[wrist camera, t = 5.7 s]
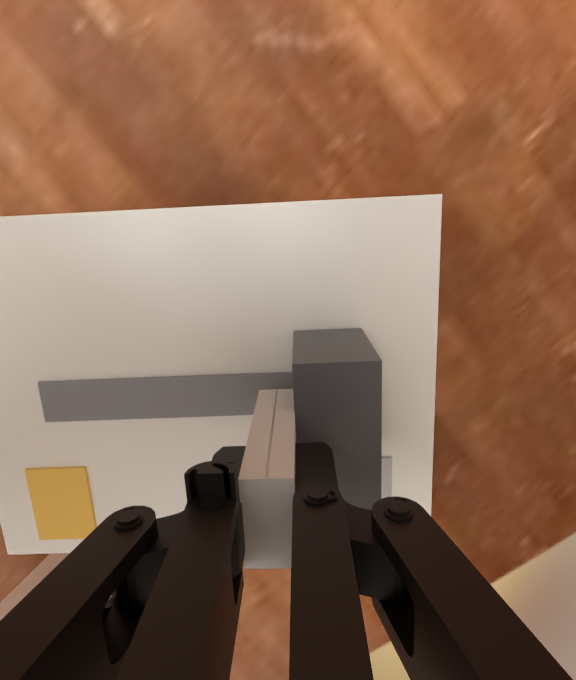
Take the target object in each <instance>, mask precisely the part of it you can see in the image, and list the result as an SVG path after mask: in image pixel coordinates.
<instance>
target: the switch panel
mask: <svg viewBox="0 0 576 680" xmlns="http://www.w3.org/2000/svg"><path fill="white" fill-rule="evenodd" d="M441 215H442V194H433V195H413V196H394V197H374V198H355V199H335V200H316V201H296V202H277V203H257V204H238V205H218V206H199V207H179V208H160V209H140V210H121V211H101V212H82V213H62V214H43V215H23V216H4V217H0V523H1V528H2V532H3V536H4V540H5V545H6V549H7V553H8V555H11V554H51V553H71V552H72V551H73V550H74V549H75V548H76V547H77V546H78V545H79V544H80V543H81V542H82V541H83V540H84V539H85V538H86V537H87V536H88V535H89V534H90V533H91V532H92V531H93V530H94V529H95V528H96V527H97V526H98V525H99V524H101V523H102V522H103V521H104V520H105V519H106V518H107V517H108V516H110V515H111V514H112V513H114V512H116V511H118V510H120V509H122V508H125V507H130V506H146V507H150V508H152V509H153V510H154V511H155V514H156V519H157V518H162V517H166V516H170V515H174V514H177V513H180V512H182V511H184V509H185V506H186V504H187V496H186V487H185V479H184V474H185V472H186V471H187V470H188V469H189V468H191V467H193V466H194V465H196V464H199V463H202V462H207V461H212V458H213V455H214V454H215V453H216V452H217V451H218V450H219V449H221V448H222V447H225V446H246V444H247V439H248V435H249V431H250V427H251V423H252V418H253V414H254V410H255V406H256V401H257V397H258V393H259V390H274V389H293V375H292V353H293V332H294V331H299V330H323V329H347V328H362V330H363V331H364V333H365V335H366V336H367V338H368V339H369V341H370V342H371V344H372V346H373V347H374V349H375V350H376V352H377V354H378V355H379V357H380V358H381V360H382V476H381V499H382V498H385V497H395V496H397V497H404V498H408V499H410V500H413V501H415V502H417V503H418V504H419V505H421V506H422V507H423V508H424V509H425V510H426V511H427V512H428V514H429V515H430V516H431V500H432V471H433V443H434V414H435V386H436V357H437V329H438V300H439V272H440V243H441Z"/></svg>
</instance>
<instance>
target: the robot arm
mask: <svg viewBox="0 0 576 680" xmlns="http://www.w3.org/2000/svg"><path fill="white" fill-rule="evenodd" d="M184 479H185V487H186V496H187V504H186V506H185V509H184V511H182V512H180V513H177V514H174V515H170V516H166V517H162V518H157V519H156V514H155V511H154V510H153V509H152V508H150V507H146V506H130V507H125V508H122V509H120V510H118V511H116V512H114V513H112V514H111V515H110V516H108V517H107V518H106V519H105V520H104V521H103V522H102V523H101V524H99V525H98V526H97V527H96V528H95V529H94V530H93V531H92V532H91V533H90V534H89V535H88V536H87V537H86V538H85V539H84V540H83V541H82V542H81V543H80V544H79V545H78V546H77V547H76V548H75V549H74V550H73V551H72V552H71V553H70V554H69V555H67V556H66V557H65V558H64V559H63V560H62V561H61V562H60V563H59V564H58V565H57V566H56V567H55V568H54V569H53V570H52V571H51V572H50V573H49V574H48V575H47V576H46V577H45V578H44V579H43V580H42V581H41V582H40V583H39V584H38V585H37V586H35V587H34V588H33V589H32V590H31V591H30V592H29V593H28V594H27V595H26V596H25V597H24V598H23V599H22V600H21V601H20V602H19V603H18V604H17V605H16V606H15V607H14V608H13V609H12V610H11V611H10V612H9V613H8V614H7V615H6V616H5V617H3V618H2V619H1V620H0V680H229V678H230V671H231V665H232V658H233V652H234V645H235V638H236V632H237V625H238V618H239V612H240V605H241V598H242V592H243V585H244V582H243V570H242V567H243V560H244V558H245V569H274V568H291V611H290V665H289V680H373V674H372V668H371V662H370V656H369V650H368V644H367V638H366V632H365V626H364V620H363V614H362V608H361V603H360V597H359V594H361V595H365V596H369V597H371V598H372V602H373V606H374V608H375V610H376V612H377V614H378V616H379V618H380V620H381V622H382V624H383V626H384V628H385V630H386V632H387V634H388V636H389V638H390V640H391V642H392V644H393V646H394V648H395V650H396V652H397V653H398V656H399V658H400V660H401V661H402V663H403V666H404V668H405V669H406V671H407V674H408V676H409V678H410V680H573V679H572V678H571V677H570V676H569V675H568V674H567V673H566V671H565V670H564V669H563V668H562V667H561V666H560V664H558V662H557V661H556V660H555V659H554V658H553V656H552V655H551V654H550V653H549V652H548V651H547V649H546V648H545V647H544V646H543V645H542V644H541V643H540V641H539V640H538V639H537V638H536V637H535V636H534V634H533V633H532V632H531V631H530V630H529V629H528V628H527V627H526V625H525V624H524V623H523V622H522V621H521V620H520V618H519V617H518V616H517V615H516V614H515V613H514V611H513V610H512V609H511V608H510V607H509V606H508V605H507V604H506V602H505V601H504V600H503V599H502V598H501V597H500V595H499V594H498V593H497V592H496V591H495V590H494V588H492V586H491V585H490V584H489V583H488V582H487V580H486V579H485V578H484V577H483V576H482V575H481V573H480V572H479V571H478V570H477V569H476V568H475V567H474V565H473V564H472V563H471V562H470V561H469V560H468V559H467V557H466V556H465V555H464V554H463V553H462V552H461V550H460V549H459V548H458V547H457V546H456V545H455V544H454V542H453V541H452V540H451V539H450V538H449V537H448V535H447V534H446V533H445V532H444V531H443V530H442V529H441V527H440V526H439V525H438V524H437V523H436V522H435V521H434V519H433V518H432V517H431V516H430V515H429V514H428V512H427V511H426V510H425V509H424V508H423V507H422V506H421V505H419V504H418V503H417V502H415V501H413V500H410V499H408V498H404V497H397V496H395V497H385V498H382V499H379V500H378V501H377V502H375V503H374V504H373V507H372V510H369V509H363V508H360V507H356V506H353V505H351V504H349V503H348V502H346V501H345V500H344V499H343V497H342V495H341V493H340V491H339V488H338V482H337V476H336V470H335V463H334V457H333V451H332V449H331V448H330V447H329V446H328V445H327V444H326V443H325V442H312V443H296V429H295V412H294V396H293V389H274V390H259V393H258V397H257V401H256V406H255V410H254V414H253V418H252V423H251V427H250V431H249V435H248V439H247V444H246V446H225V447H222V448H221V449H219V450H218V451H217V452H216V453H215V454H214V455H213V458H212V461H207V462H202V463H199V464H196V465H194V466H193V467H191V468H189V469H188V470H187V471H186V472H185V474H184ZM111 595H112V596H111ZM110 596H111V597H110ZM109 598H110V599H109Z"/></svg>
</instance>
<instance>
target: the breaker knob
mask: <svg viewBox="0 0 576 680" xmlns="http://www.w3.org/2000/svg"><path fill="white" fill-rule="evenodd" d="M292 375H293V396H294V412H295V429H296V443H312V442H325V443H326V444H327V445H328V446H329V447H330V448H331V449H332V451H333V457H334V463H335V470H336V476H337V482H338V488H339V491H340V493H341V495H342V497H343V499H344V500H345V501H346V502H348V503H349V504H351V505H353V506H356V507H360V508H363V509H369V510H372V507H373V504H374V503H375V502H377V501H378V500H379V499H381V476H382V360H381V358H380V357H379V355H378V354H377V352H376V350H375V349H374V347H373V346H372V344H371V342H370V341H369V339H368V338H367V336H366V335H365V333H364V331H363V330H362V328H347V329H323V330H299V331H294V332H293V353H292Z"/></svg>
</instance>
